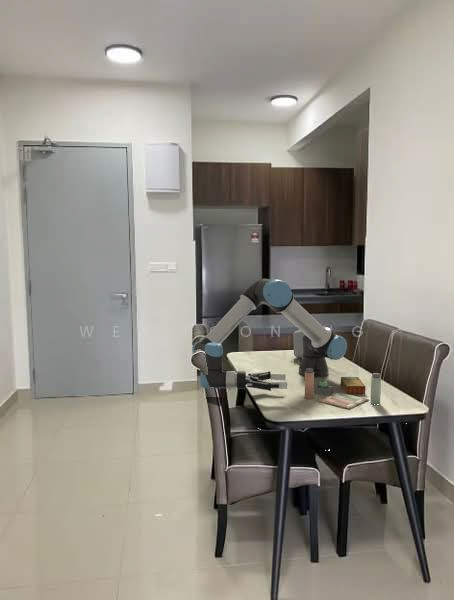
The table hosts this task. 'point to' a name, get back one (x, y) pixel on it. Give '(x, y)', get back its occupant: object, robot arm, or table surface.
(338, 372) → the table surface
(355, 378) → the carton
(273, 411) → the table surface
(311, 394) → the terracotta marker
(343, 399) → the colouring board
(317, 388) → the button housing
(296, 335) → the jar
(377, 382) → the sage marker
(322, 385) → the button
